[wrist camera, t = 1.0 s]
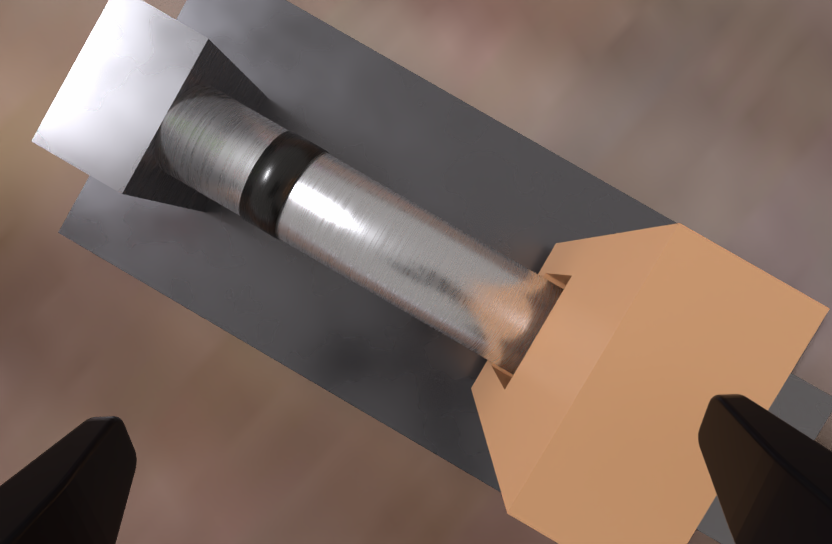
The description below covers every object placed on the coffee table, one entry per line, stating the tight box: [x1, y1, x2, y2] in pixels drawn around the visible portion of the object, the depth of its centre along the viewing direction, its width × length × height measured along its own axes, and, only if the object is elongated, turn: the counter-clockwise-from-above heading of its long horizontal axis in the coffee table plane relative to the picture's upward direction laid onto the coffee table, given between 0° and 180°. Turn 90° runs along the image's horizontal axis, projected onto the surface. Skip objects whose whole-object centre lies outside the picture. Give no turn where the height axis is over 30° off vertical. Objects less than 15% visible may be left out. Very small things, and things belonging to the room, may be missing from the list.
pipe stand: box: [32, 0, 832, 544], centre depth 19 cm, size 26×12×7 cm, turn 60°
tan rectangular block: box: [471, 223, 829, 544], centre depth 15 cm, size 3×6×10 cm, turn 150°
